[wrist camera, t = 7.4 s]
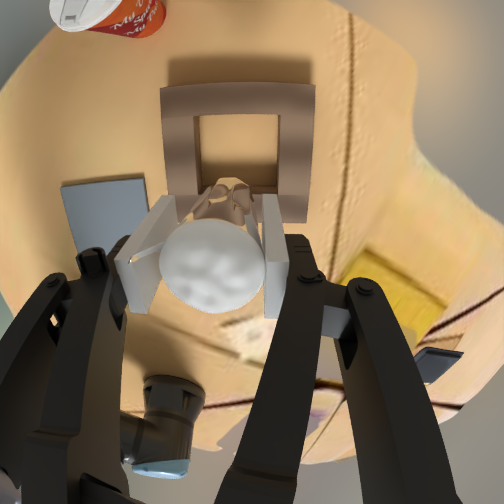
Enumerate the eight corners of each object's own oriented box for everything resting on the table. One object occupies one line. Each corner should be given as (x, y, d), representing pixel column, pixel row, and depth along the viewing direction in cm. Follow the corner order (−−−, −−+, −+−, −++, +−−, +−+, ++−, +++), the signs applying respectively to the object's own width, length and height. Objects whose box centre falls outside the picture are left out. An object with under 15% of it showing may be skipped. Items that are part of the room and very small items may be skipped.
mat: (160, 268, 40) (159, 270, 40) (85, 266, 40) (83, 268, 40) (144, 177, 33) (142, 179, 32) (62, 186, 33) (60, 188, 32)
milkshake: (208, 146, 17) (154, 209, 8) (277, 191, 18) (292, 290, 10) (174, 201, 19) (112, 297, 10) (238, 240, 20) (225, 354, 12)
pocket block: (302, 212, 35) (306, 223, 33) (177, 212, 35) (172, 222, 33) (310, 85, 27) (315, 84, 24) (168, 88, 27) (159, 88, 24)
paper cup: (162, 49, 24) (103, 28, 12) (107, 44, 23) (34, 34, 11) (184, -7, 20) (141, -55, 8) (127, -9, 19) (65, -42, 7)
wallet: (466, 356, 54) (429, 388, 61) (464, 351, 55) (428, 383, 63) (428, 348, 50) (386, 386, 58) (425, 342, 52) (384, 380, 59)
